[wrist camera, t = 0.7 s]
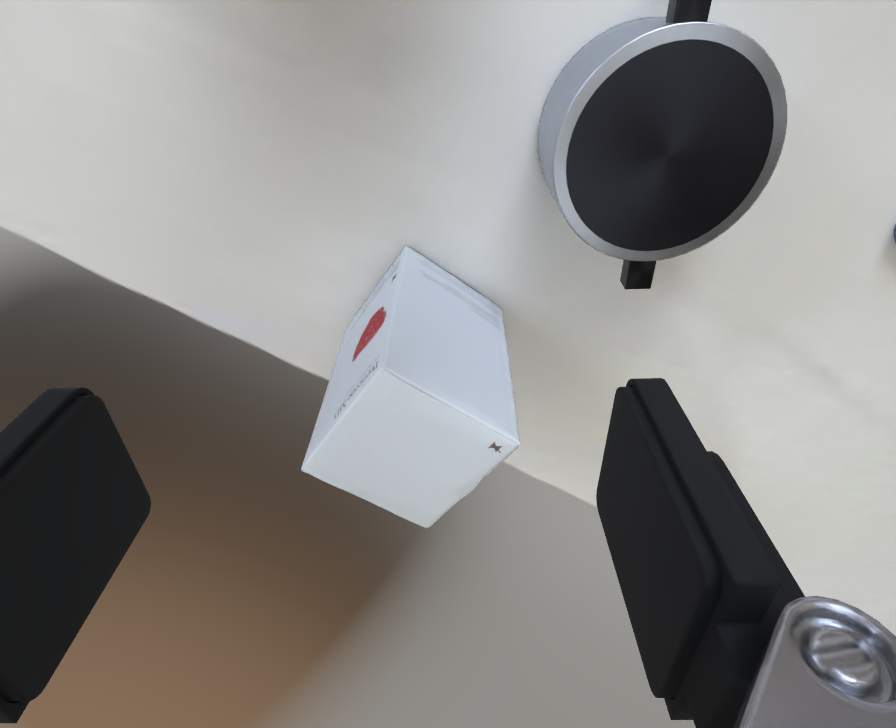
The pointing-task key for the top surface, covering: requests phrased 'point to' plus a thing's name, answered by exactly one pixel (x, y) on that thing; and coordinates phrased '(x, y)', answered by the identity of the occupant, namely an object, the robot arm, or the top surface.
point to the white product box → (417, 395)
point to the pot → (661, 136)
